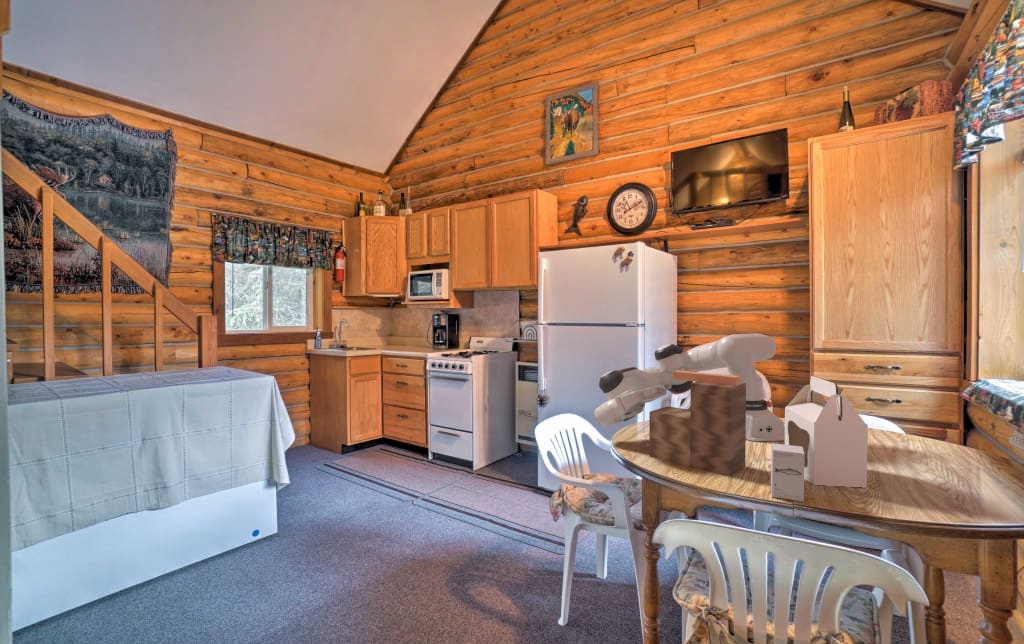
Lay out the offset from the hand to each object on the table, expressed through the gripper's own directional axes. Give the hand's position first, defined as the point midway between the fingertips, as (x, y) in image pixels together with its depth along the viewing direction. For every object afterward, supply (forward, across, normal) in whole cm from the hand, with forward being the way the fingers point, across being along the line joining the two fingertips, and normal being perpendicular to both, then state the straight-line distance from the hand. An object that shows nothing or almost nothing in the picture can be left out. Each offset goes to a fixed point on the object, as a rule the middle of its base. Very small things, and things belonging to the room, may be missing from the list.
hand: (663, 387), depth 159 cm
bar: (+14, 0, -4) cm, 15 cm away
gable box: (+25, -16, -41) cm, 51 cm away
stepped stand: (-1, 0, -26) cm, 26 cm away
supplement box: (+23, +9, -40) cm, 47 cm away
